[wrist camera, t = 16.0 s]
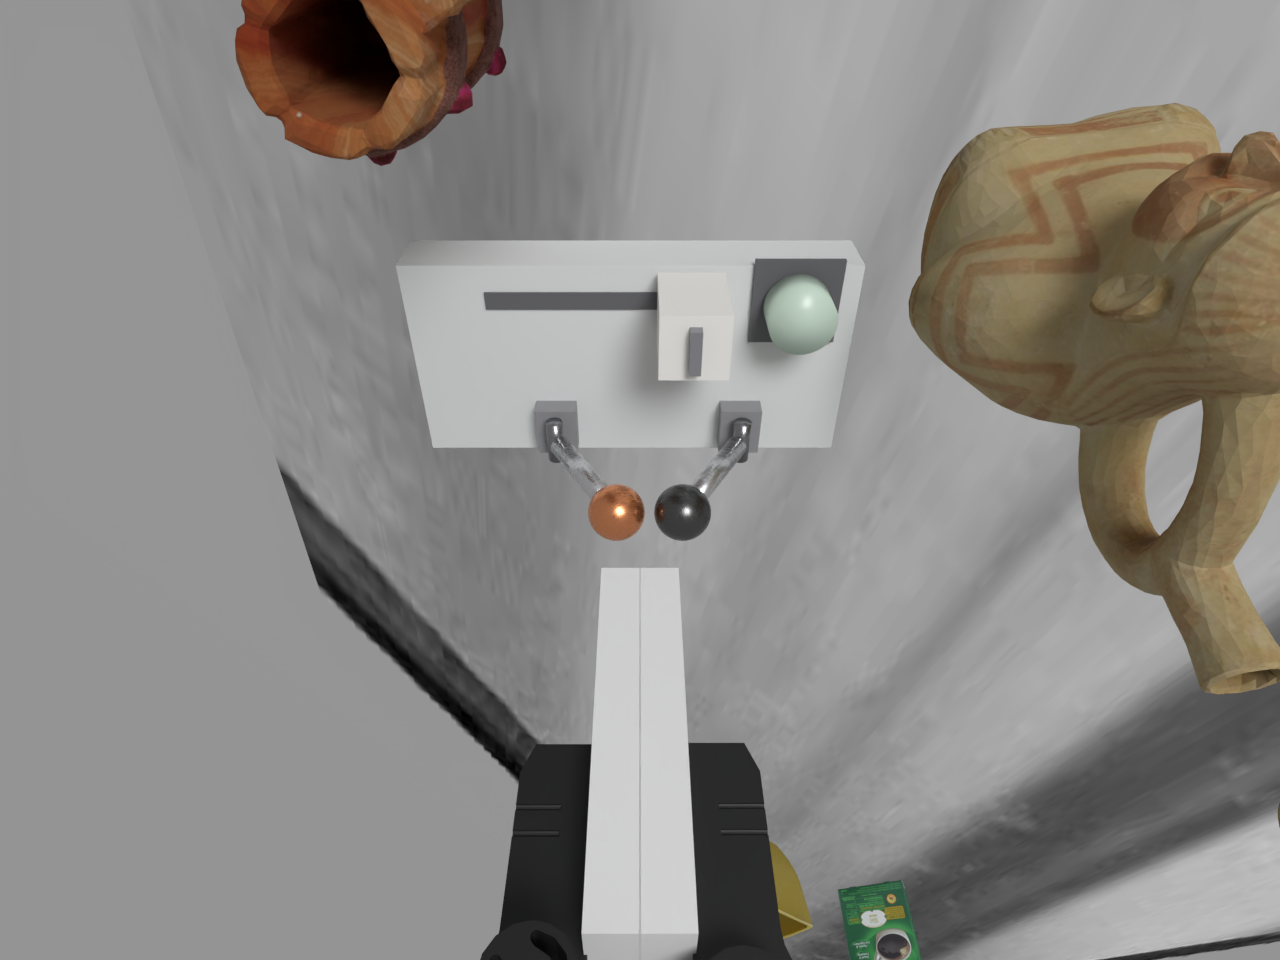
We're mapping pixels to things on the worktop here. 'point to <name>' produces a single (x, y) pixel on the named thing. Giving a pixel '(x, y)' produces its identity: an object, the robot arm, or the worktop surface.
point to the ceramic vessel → (1129, 336)
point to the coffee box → (879, 922)
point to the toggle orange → (597, 489)
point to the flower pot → (789, 895)
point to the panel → (614, 343)
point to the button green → (800, 314)
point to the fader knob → (694, 326)
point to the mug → (366, 68)
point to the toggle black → (700, 489)
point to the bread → (1279, 814)
